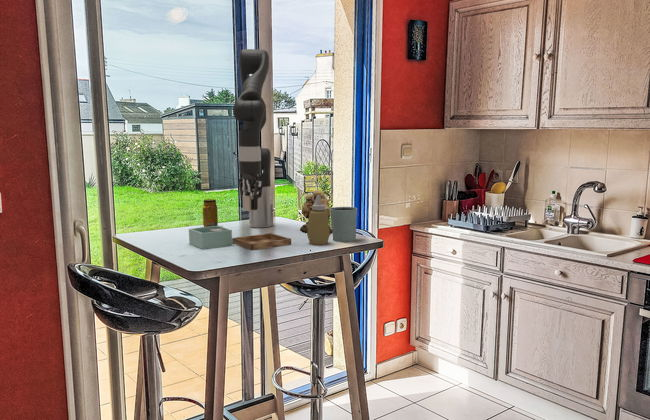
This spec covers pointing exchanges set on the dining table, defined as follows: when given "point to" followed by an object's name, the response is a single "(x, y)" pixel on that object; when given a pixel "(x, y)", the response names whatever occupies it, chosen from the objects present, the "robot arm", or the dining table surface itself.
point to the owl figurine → (308, 207)
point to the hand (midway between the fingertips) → (250, 208)
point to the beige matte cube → (248, 203)
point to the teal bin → (210, 237)
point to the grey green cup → (344, 223)
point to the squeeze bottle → (318, 224)
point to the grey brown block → (215, 230)
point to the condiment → (210, 213)
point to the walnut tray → (261, 241)
